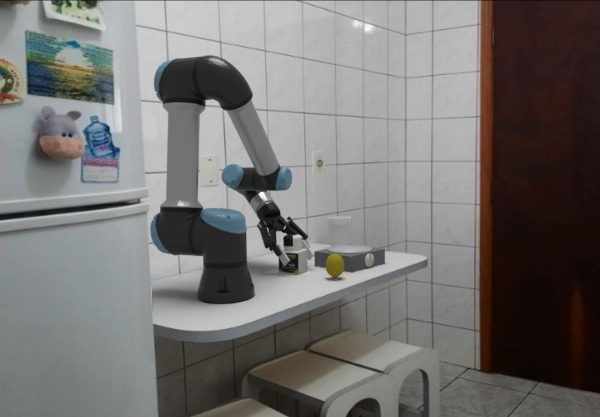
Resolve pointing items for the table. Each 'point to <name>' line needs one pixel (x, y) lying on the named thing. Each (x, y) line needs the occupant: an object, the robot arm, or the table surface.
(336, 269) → the lemon
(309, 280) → the table surface
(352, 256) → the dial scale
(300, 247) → the medicine bottle
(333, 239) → the clear plastic beaker
